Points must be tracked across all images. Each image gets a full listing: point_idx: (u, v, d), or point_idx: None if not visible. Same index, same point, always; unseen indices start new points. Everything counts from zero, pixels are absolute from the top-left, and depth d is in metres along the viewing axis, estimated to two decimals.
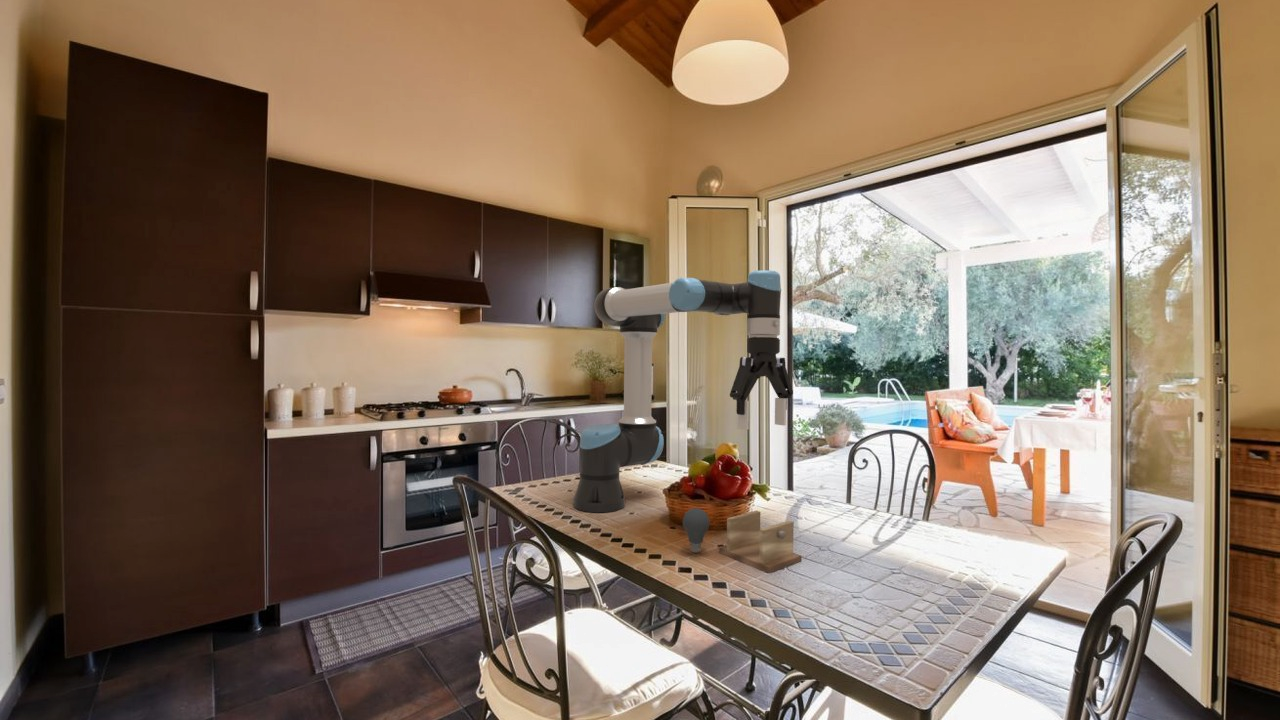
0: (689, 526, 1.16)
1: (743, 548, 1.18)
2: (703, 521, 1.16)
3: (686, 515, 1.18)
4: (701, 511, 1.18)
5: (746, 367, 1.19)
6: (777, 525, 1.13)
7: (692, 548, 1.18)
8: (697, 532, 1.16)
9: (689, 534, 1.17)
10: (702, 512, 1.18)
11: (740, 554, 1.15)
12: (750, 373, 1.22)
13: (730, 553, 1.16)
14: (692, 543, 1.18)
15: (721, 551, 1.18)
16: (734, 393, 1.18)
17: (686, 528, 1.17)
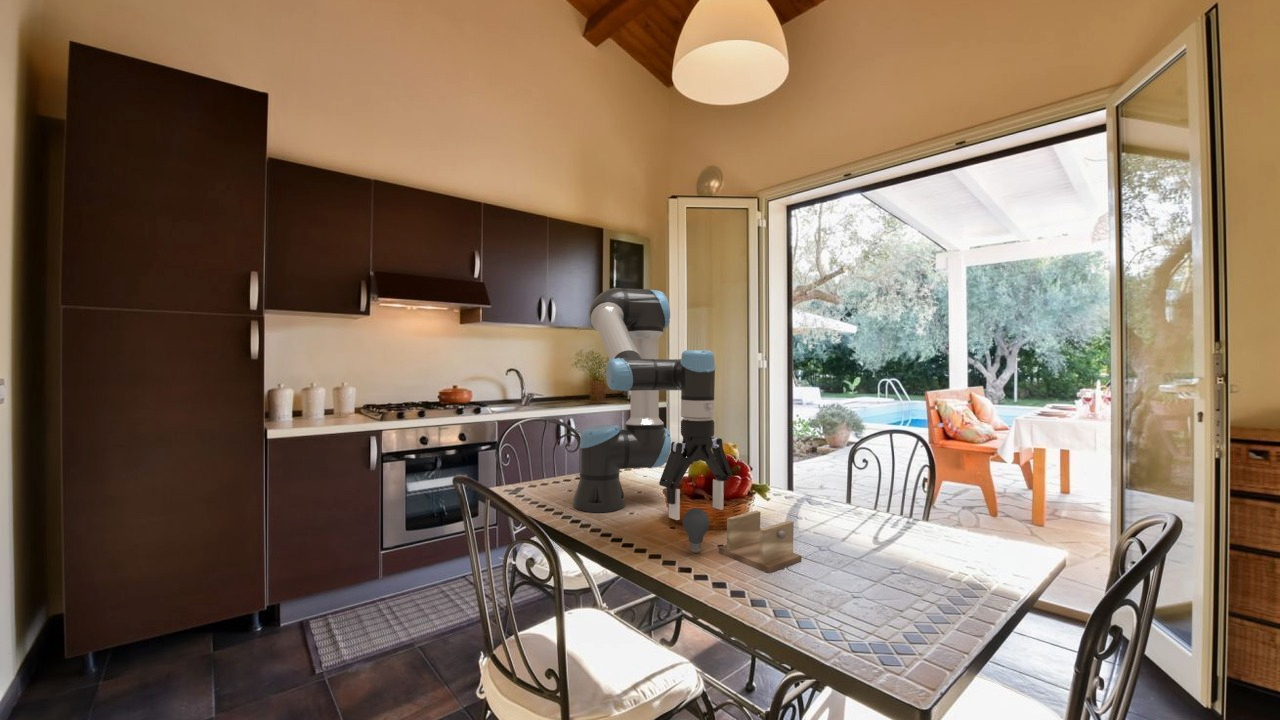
0: (689, 526, 1.16)
1: (743, 548, 1.18)
2: (703, 521, 1.16)
3: (686, 515, 1.18)
4: (701, 511, 1.18)
5: (676, 454, 1.13)
6: (777, 525, 1.13)
7: (692, 548, 1.18)
8: (697, 532, 1.16)
9: (689, 534, 1.17)
10: (702, 512, 1.18)
11: (740, 554, 1.15)
12: (682, 458, 1.16)
13: (730, 553, 1.16)
14: (692, 543, 1.18)
15: (721, 551, 1.18)
16: (663, 482, 1.12)
17: (686, 528, 1.17)
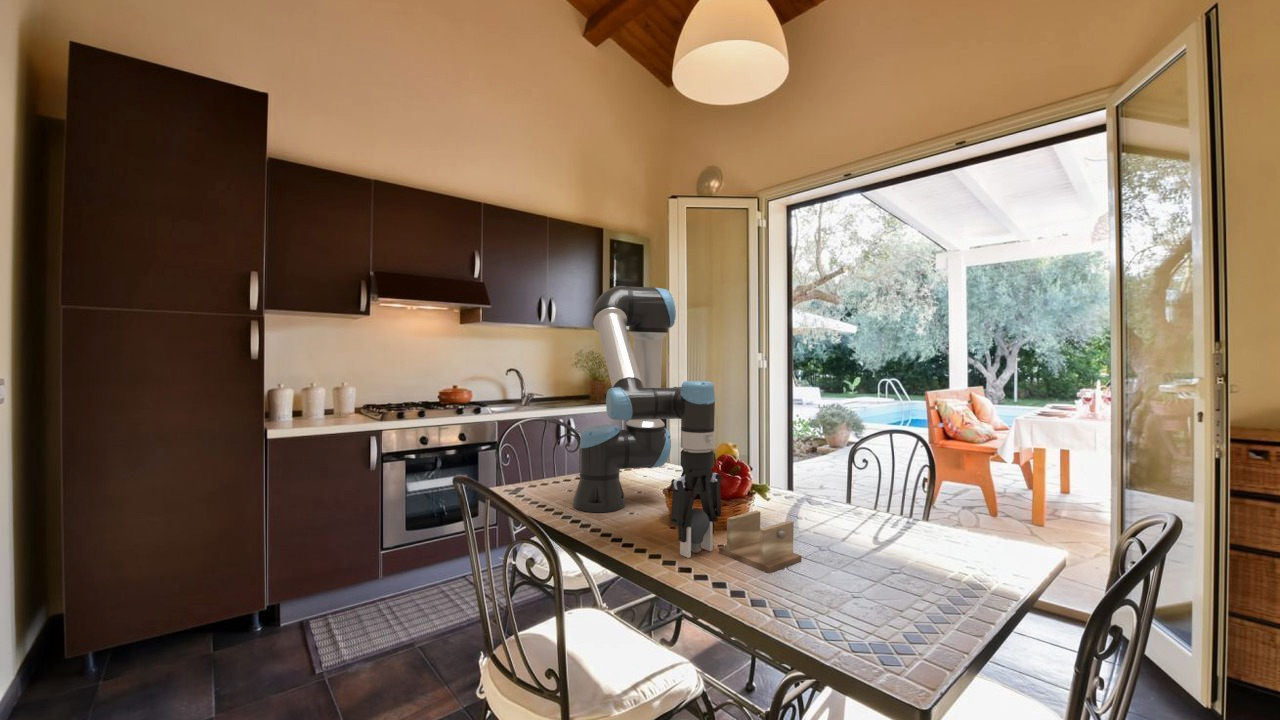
0: (689, 526, 1.16)
1: (743, 548, 1.18)
2: (703, 521, 1.16)
3: None
4: (701, 511, 1.18)
5: (679, 492, 1.14)
6: (777, 525, 1.13)
7: (692, 548, 1.18)
8: (697, 532, 1.16)
9: None
10: (702, 512, 1.18)
11: (740, 554, 1.15)
12: (686, 493, 1.17)
13: (730, 553, 1.16)
14: (692, 543, 1.18)
15: (721, 551, 1.18)
16: (675, 521, 1.14)
17: None
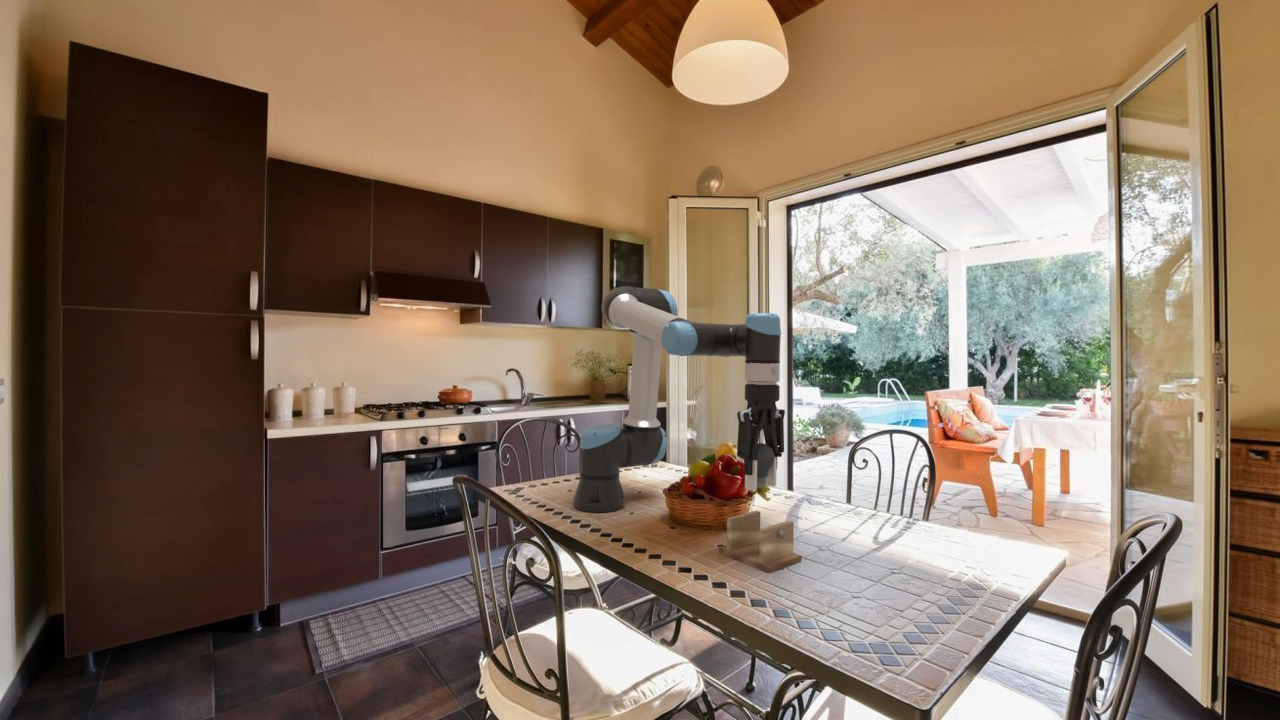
0: None
1: (743, 548, 1.18)
2: (769, 454, 1.14)
3: None
4: (766, 445, 1.16)
5: (746, 424, 1.12)
6: (777, 525, 1.13)
7: (757, 483, 1.16)
8: (763, 465, 1.14)
9: None
10: (767, 446, 1.16)
11: (740, 554, 1.15)
12: (751, 426, 1.15)
13: (730, 553, 1.16)
14: (757, 477, 1.16)
15: (721, 551, 1.18)
16: (742, 453, 1.13)
17: None
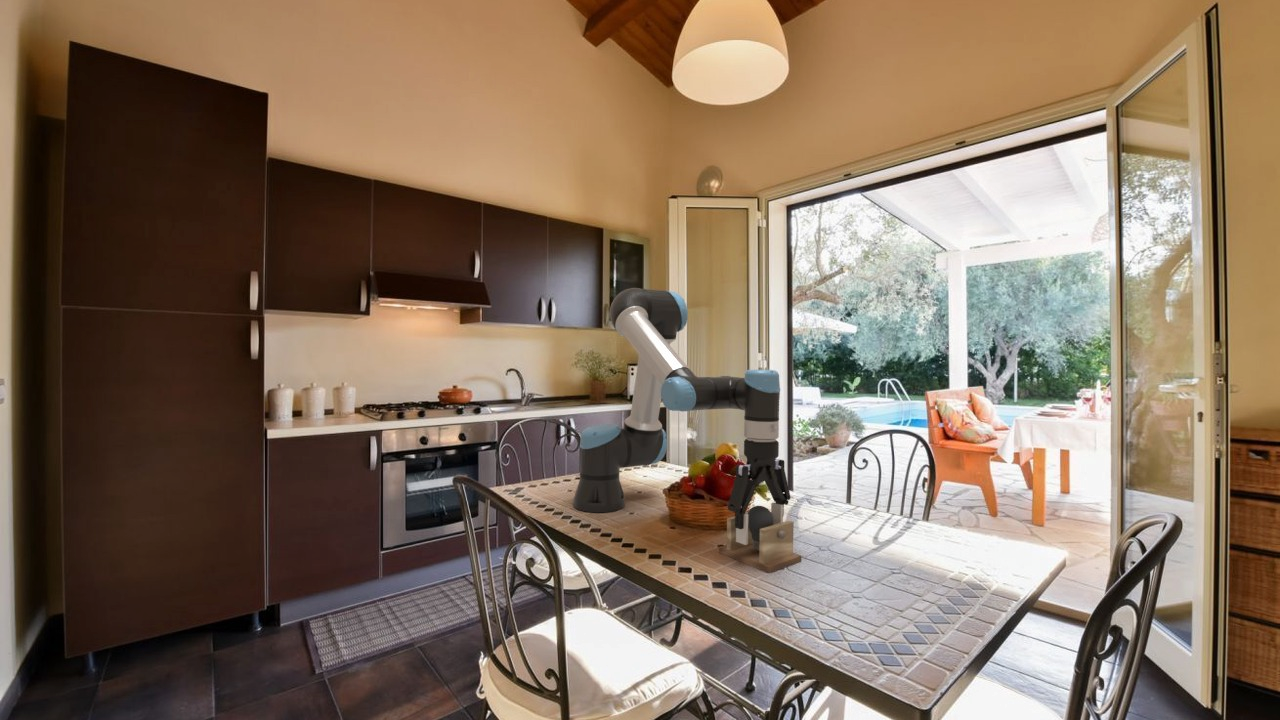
0: (754, 524, 1.14)
1: (743, 548, 1.18)
2: (768, 518, 1.14)
3: (750, 513, 1.16)
4: (765, 509, 1.16)
5: (743, 478, 1.12)
6: (777, 525, 1.13)
7: (756, 546, 1.16)
8: None
9: (753, 532, 1.16)
10: (766, 510, 1.16)
11: (740, 554, 1.15)
12: (748, 480, 1.15)
13: (730, 553, 1.16)
14: (756, 541, 1.16)
15: (721, 551, 1.18)
16: (732, 507, 1.11)
17: (750, 526, 1.15)
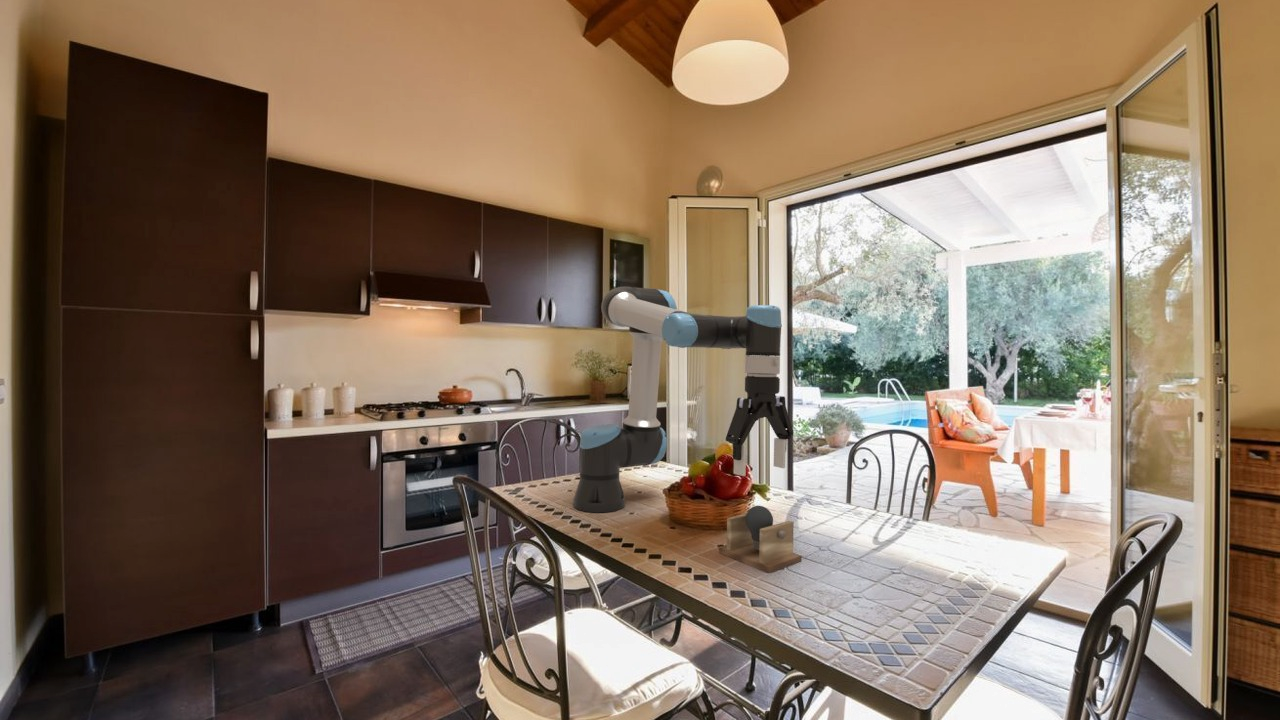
0: (754, 524, 1.15)
1: (743, 548, 1.18)
2: (767, 518, 1.14)
3: (749, 513, 1.16)
4: (765, 508, 1.16)
5: (743, 409, 1.12)
6: (777, 525, 1.13)
7: (756, 546, 1.16)
8: None
9: (753, 532, 1.16)
10: (766, 510, 1.16)
11: (740, 554, 1.15)
12: (748, 414, 1.15)
13: (730, 553, 1.16)
14: (756, 541, 1.16)
15: (721, 551, 1.18)
16: (730, 437, 1.11)
17: (750, 526, 1.15)
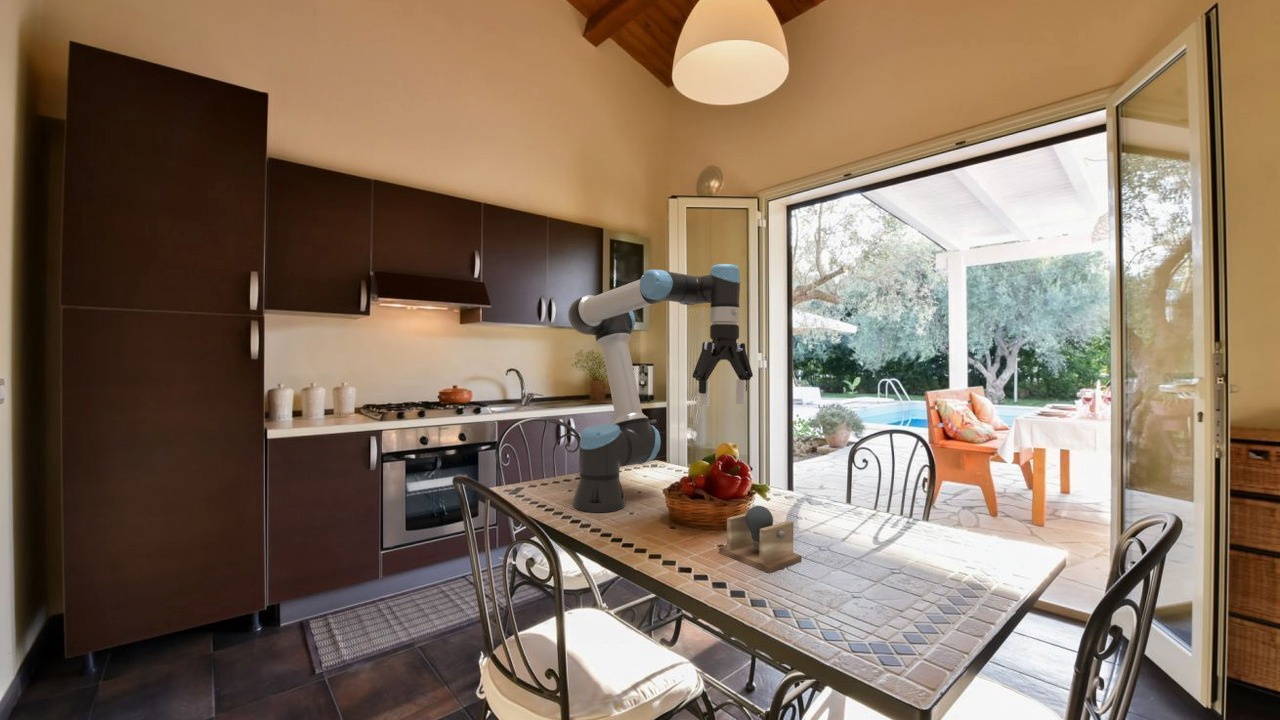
0: (754, 524, 1.15)
1: (743, 548, 1.18)
2: (767, 518, 1.14)
3: (749, 513, 1.16)
4: (765, 508, 1.16)
5: (707, 351, 1.33)
6: (777, 525, 1.13)
7: (756, 546, 1.16)
8: None
9: (753, 532, 1.16)
10: (766, 510, 1.16)
11: (740, 554, 1.15)
12: (712, 356, 1.36)
13: (730, 553, 1.16)
14: (756, 541, 1.16)
15: (721, 551, 1.18)
16: (696, 374, 1.32)
17: (750, 526, 1.15)
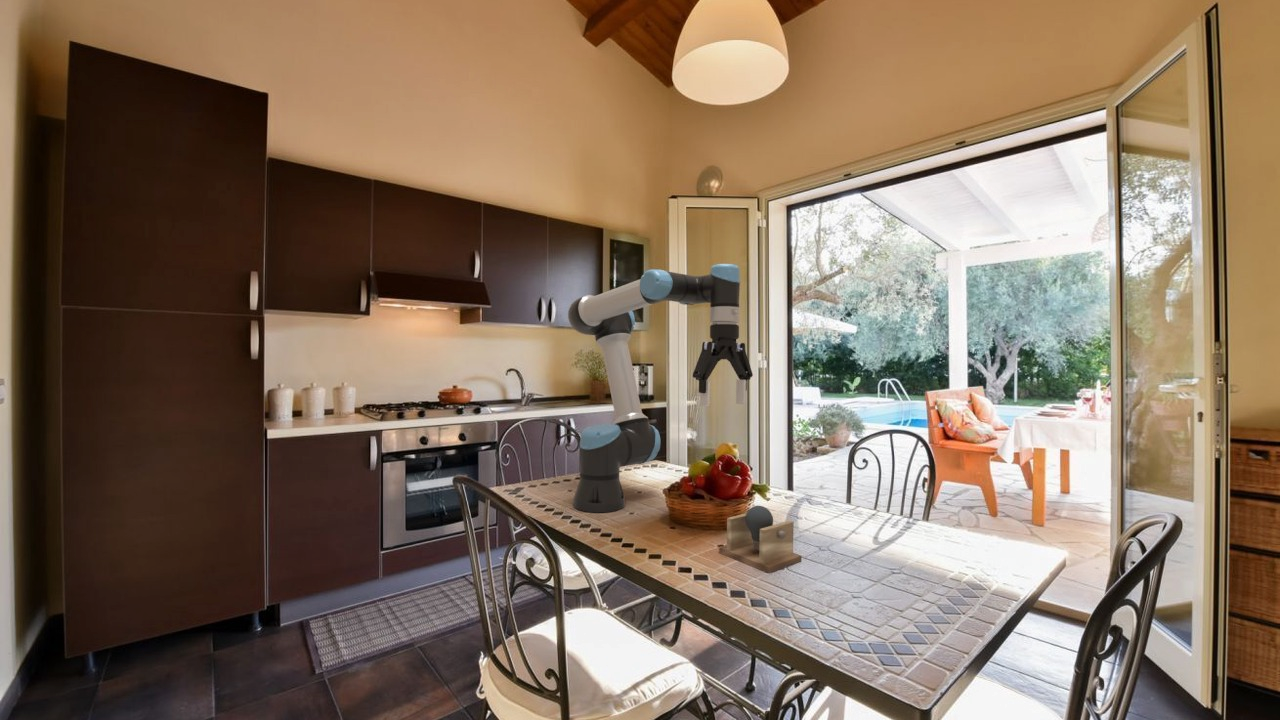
0: (754, 524, 1.15)
1: (743, 548, 1.18)
2: (767, 518, 1.14)
3: (749, 513, 1.16)
4: (765, 508, 1.16)
5: (707, 350, 1.33)
6: (777, 525, 1.13)
7: (756, 546, 1.16)
8: None
9: (753, 532, 1.16)
10: (766, 509, 1.16)
11: (740, 554, 1.15)
12: (712, 356, 1.36)
13: (730, 553, 1.16)
14: (756, 541, 1.16)
15: (721, 551, 1.18)
16: (696, 374, 1.32)
17: (750, 526, 1.15)
